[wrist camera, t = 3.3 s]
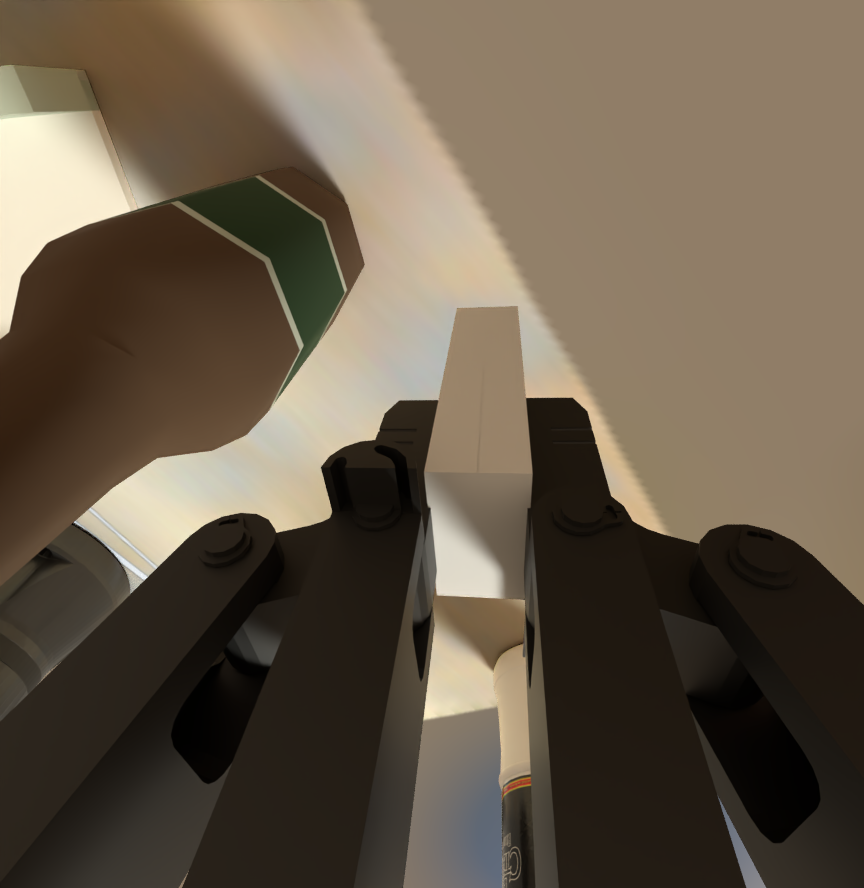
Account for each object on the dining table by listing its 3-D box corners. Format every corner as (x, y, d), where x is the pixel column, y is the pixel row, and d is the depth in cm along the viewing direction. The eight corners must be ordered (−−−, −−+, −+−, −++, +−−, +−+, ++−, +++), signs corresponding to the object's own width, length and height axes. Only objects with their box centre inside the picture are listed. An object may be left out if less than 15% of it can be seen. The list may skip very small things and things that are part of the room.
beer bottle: (192, 225, 25) (-824, 643, 6) (296, 123, 22) (-1159, 291, 3) (294, 343, 29) (-132, 860, 9) (398, 269, 25) (84, 817, 6)
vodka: (602, 687, 46) (722, 1337, 22) (508, 694, 49) (521, 1282, 25) (584, 630, 41) (710, 1380, 17) (481, 642, 44) (463, 1307, 20)
